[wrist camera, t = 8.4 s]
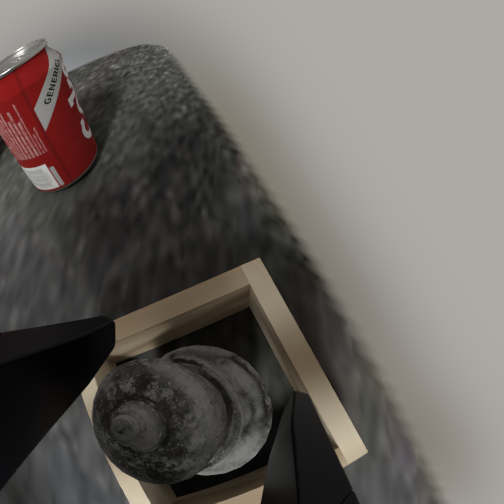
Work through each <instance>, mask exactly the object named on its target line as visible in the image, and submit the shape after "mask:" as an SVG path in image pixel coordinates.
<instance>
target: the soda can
mask: <svg viewBox="0 0 504 504" xmlns="http://www.w3.org/2000/svg"><path fill="white" fill-rule="evenodd" d="M0 135H1V137H2V138H3V140H4V141H5V143H6V144H7V146H8V148H9V149H10V151H11V152H12V154H13V155H14V157H15V158H16V160H17V161H18V163H19V164H20V165H21V167H22V168H23V170H24V171H25V173H26V174H27V175H28V177H29V178H30V180H31V181H32V182H33V184H34V185H35V186H36V188H37V189H38V190H39V191H41V192H45V193H52V192H57V191H60V190H62V189H65V188H66V187H68V186H70V185H72V184H73V183H75V182H76V181H77V180H78V179H80V178H81V177H82V176H83V175H84V174H85V173H86V172H87V171H88V169H89V168H90V167H91V165H92V164H93V162H94V160H95V158H96V155H97V151H98V146H97V143H96V141H95V138H94V136H93V134H92V132H91V129H90V127H89V125H88V123H87V120H86V118H85V116H84V113H83V111H82V108H81V106H80V104H79V101H78V99H77V96H76V94H75V91H74V89H73V86H72V84H71V81H70V78H69V76H68V73H67V71H66V68H65V65H64V62H63V59H62V57H61V54H60V53H59V52H57V51H55V50H53V49H52V48H50V47H48V46H47V40H46V39H45V38H43V39H39V40H36V41H34V42H31V43H29V44H27V45H25V46H23V47H22V48H20V49H18V50H16V51H15V52H13V53H12V54H10V55H9V56H7V57H6V58H5V59H3V60H2V61H1V62H0Z"/></svg>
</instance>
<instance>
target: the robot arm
mask: <svg viewBox="0 0 504 504" xmlns="http://www.w3.org/2000/svg"><path fill="white" fill-rule="evenodd" d="M115 343H116V325H115V322H114V321H113V320H111V319H109V318H107V317H105V316H99V317H94V318H88V319H83V320H77V321H71V322H65V323H59V324H53V325H47V326H41V327H35V328H29V329H22V330H16V331H9V332H3V334H2V333H0V490H1V489H2V488H3V487H4V485H5V484H6V483H7V482H8V480H9V479H10V478H11V477H12V475H13V474H14V473H15V472H16V469H18V468H19V466H20V465H21V464H22V463H23V461H24V460H25V459H26V458H27V456H28V455H29V454H30V453H31V452H32V450H33V449H34V448H35V447H36V446H37V444H38V443H39V442H40V441H41V440H42V438H43V437H44V436H45V435H46V434H47V432H48V431H49V430H50V429H51V428H52V427H53V425H54V424H55V423H56V422H57V421H58V419H59V418H60V417H61V416H62V415H63V414H64V412H65V411H66V410H67V409H68V408H69V407H70V406H71V404H72V403H73V402H74V401H75V400H76V399H77V397H78V396H79V395H80V394H81V393H82V392H83V391H84V389H85V388H86V387H87V386H88V385H89V384H90V382H91V381H92V379H93V378H94V377H95V375H96V374H97V372H98V371H99V369H100V368H101V366H102V365H103V364H104V362H105V361H106V359H107V358H108V356H109V355H110V354H111V352H112V351H113V349H114V347H115ZM352 490H353V488H352V486H351V484H350V482H349V480H348V478H347V475H346V473H345V471H344V469H343V467H342V465H341V463H340V460H339V458H338V456H337V454H336V452H335V450H334V448H333V445H332V443H331V441H330V439H329V437H328V435H327V432H326V430H325V428H324V426H323V424H322V422H321V419H320V417H319V415H318V413H317V411H316V409H315V406H314V404H313V402H312V400H311V398H310V396H309V394H307V393H304V392H300V391H294V392H293V393H292V395H291V397H290V399H289V401H288V403H287V405H286V407H285V409H284V412H283V414H282V417H281V421H280V424H279V427H278V431H277V434H276V437H275V441H274V444H273V447H272V450H271V454H270V457H269V461H268V466H267V471H266V477H265V482H264V488H263V493H262V498H261V504H360V503H359V501H358V499H357V496H356V494H355V492H354V491H352Z"/></svg>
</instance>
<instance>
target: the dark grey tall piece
mask: <svg viewBox="0 0 504 504" xmlns="http://www.w3.org/2000/svg"><path fill="white" fill-rule="evenodd" d="M272 411H273V408H272V403H271V399H270V394H269V391H268V389H267V387H266V385H265V383H264V381H263V379H262V378H261V376H260V375H259V374H258V372H257V371H256V370H255V369H254V368H253V367H252V366H251V365H250V364H249V363H248V362H247V361H245V360H244V359H242V358H241V357H239V356H238V355H236V354H235V353H233V352H230V351H227V350H224V349H222V348H219V347H215V346H205V345H195V346H188V347H181V348H179V349H176V350H174V351H172V352H169V353H167V354H165V355H164V356H162V357H161V358H160V359H159V358H153V357H151V358H142V359H135V360H131V361H129V362H126V363H124V364H121V365H119V366H118V367H116V368H115V369H114V370H112V371H111V372H110V373H109V374H107V376H106V377H105V378H104V380H103V381H102V382H101V384H100V385H99V387H98V389H97V392H96V395H95V397H94V400H93V408H92V421H93V428H94V433H95V435H96V438H97V440H98V443H99V445H100V447H101V449H102V450H103V452H104V453H105V455H106V456H107V457H108V459H109V460H110V461H111V462H112V463H113V464H114V465H115V466H116V467H117V468H119V469H120V470H121V471H122V472H123V473H125V474H127V475H129V476H131V477H133V478H134V479H136V480H139V481H143V482H147V483H151V484H173V483H177V482H180V481H183V480H187V479H190V478H191V477H193V476H194V475H196V474H199V475H215V474H224V473H227V472H229V471H232V470H234V469H237V468H239V467H241V466H243V465H244V464H245V463H247V462H248V461H249V460H251V459H252V458H253V457H255V456H256V454H257V453H258V452H259V450H260V449H261V448H262V446H263V445H264V444H265V442H266V440H267V437H268V434H269V432H270V429H271V426H272Z"/></svg>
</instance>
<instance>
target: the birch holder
mask: <svg viewBox="0 0 504 504" xmlns="http://www.w3.org/2000/svg"><path fill="white" fill-rule="evenodd" d="M248 307H250V308H251V310H252V312H253V314H254V316H255V318H256V320H257V322H258V324H259V326H260V328H261V330H262V331H263V333H264V335H265V337H266V339H267V341H268V343H269V345H270V347H271V349H272V350H273V352H274V354H275V356H276V358H277V360H278V362H279V364H280V365H281V367H282V369H283V371H284V373H285V375H286V377H287V378H288V380H289V382H290V384H291V386H292V388H293V390H294V391H300V392H304V393H307V394H309V396H310V398H311V400H312V402H313V404H314V406H315V409H316V411H317V413H318V415H319V417H320V419H321V422H322V424H323V426H324V428H325V430H326V432H327V435H328V437H329V439H330V441H331V443H332V445H333V448H334V450H335V452H336V454H337V456H338V458H339V460H340V463H341V465H342V467H345V466H347V465H348V464H350V463H352V462H353V461H355V460H356V459H358V458H360V457H361V456H363V455H364V454H366V453H367V452H368V451H367V449H366V448H365V446H364V444H363V442H362V440H361V438H360V437H359V435H358V433H357V431H356V429H355V428H354V426H353V424H352V422H351V420H350V419H349V417H348V415H347V413H346V411H345V410H344V408H343V406H342V404H341V402H340V400H339V399H338V397H337V395H336V393H335V391H334V390H333V388H332V386H331V384H330V382H329V381H328V379H327V377H326V375H325V373H324V372H323V370H322V368H321V366H320V364H319V363H318V361H317V359H316V357H315V356H314V354H313V352H312V350H311V348H310V347H309V345H308V343H307V341H306V339H305V338H304V336H303V334H302V332H301V330H300V329H299V327H298V325H297V323H296V321H295V320H294V318H293V316H292V314H291V313H290V311H289V309H288V307H287V305H286V304H285V302H284V300H283V298H282V296H281V295H280V293H279V291H278V289H277V288H276V286H275V284H274V282H273V280H272V279H271V277H270V275H269V273H268V271H267V270H266V268H265V266H264V264H263V263H262V261H261V259H260V258H257V259H255V260H253V261H250V262H248V263H246V264H243V265H241V266H239V267H237V268H234V269H232V270H230V271H227V272H225V273H223V274H220V275H218V276H216V277H214V278H211V279H209V280H207V281H204V282H202V283H200V284H197V285H195V286H193V287H190V288H188V289H186V290H183V291H181V292H179V293H176V294H174V295H172V296H169V297H167V298H165V299H162V300H160V301H158V302H155V303H153V304H151V305H148V306H146V307H144V308H141V309H139V310H137V311H134V312H132V313H130V314H127V315H125V316H123V317H120V318H118V319H116V320H113V321H114V322H115V325H116V343H115V347H114V349H113V351H112V352H111V354H110V355H109V356H108V358H107V359H106V361H105V362H104V364H103V365H102V366H101V368H100V369H99V371H98V372H97V374H96V375H95V377H94V378H93V379H92V381H91V382H90V384H89V385H88V386H87V387H86V388H85V389H84V391H83V392H82V393H81V394H82V397H83V400H84V403H85V406H86V408H87V411H88V414H89V417H90V419H91V422H92V425H93V421H92V408H93V400H94V397H95V395H96V392H97V389H98V387H99V385H100V384H101V382H102V381H103V380H104V378H105V377H106V376H107V374H109V373H110V372H111V371H112V370H114V369H115V368H116V367H117V366H116V363H118V362H121V361H124V360H126V359H129V358H131V357H134V356H136V355H139V354H141V353H144V352H146V351H149V350H151V349H153V348H156V347H158V346H161V345H163V344H166V343H168V342H170V341H173V340H175V339H178V338H180V337H182V336H185V335H187V334H189V333H192V332H194V331H196V330H199V329H201V328H203V327H205V326H208V325H210V324H212V323H215V322H217V321H219V320H221V319H224V318H226V317H228V316H230V315H232V314H235V313H237V312H239V311H241V310H244V309H246V308H248ZM106 458H107V460H108V462H109V464H110V466H111V468H112V470H113V472H114V474H115V476H116V478H117V480H118V482H119V484H120V486H121V488H122V490H123V492H124V493H125V495H126V497H127V499H128V501H129V502H130V504H261V498H262V493H263V488H264V482H265V477H266V471H267V466H268V465H266V466H264V467H262V468H260V469H257V470H255V471H253V472H250V473H248V474H245V475H243V476H240V477H238V478H235V479H232V480H230V481H227V482H224V483H222V484H219V485H216V486H213V487H210V488H207V489H204V490H201V491H198V492H194V493H191V494H188V495H184V496H181V497H176V495H175V493H174V492H173V490H172V488H171V486H170V485H169V484H151V483H147V482H143V481H139V480H136V479H134V478H133V477H131V476H129V475H127V474H125V473H123V472H122V471H121V470H120V469H119V468H117V467H116V466H115V465H114V464H113V463H112V462H111V461H110V460H109V459H108V457H107V456H106Z"/></svg>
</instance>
